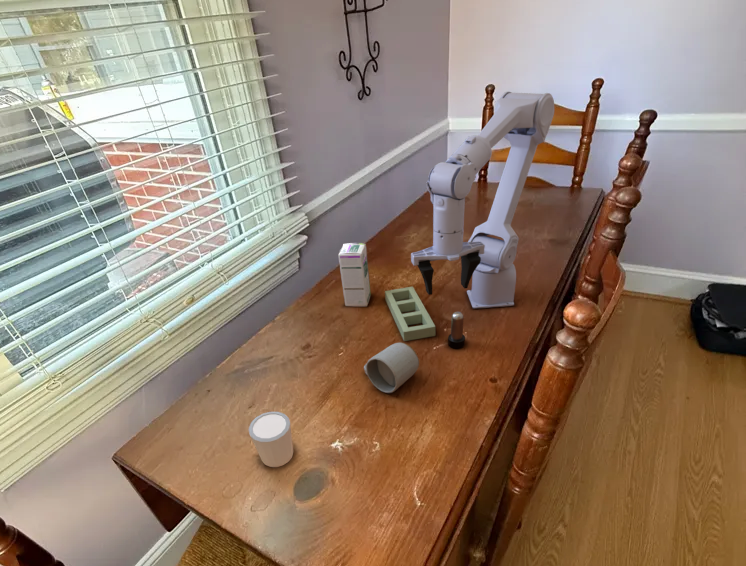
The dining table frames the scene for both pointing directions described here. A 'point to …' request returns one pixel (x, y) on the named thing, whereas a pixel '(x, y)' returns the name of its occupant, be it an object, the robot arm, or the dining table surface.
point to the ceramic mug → (392, 367)
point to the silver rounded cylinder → (456, 331)
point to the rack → (409, 314)
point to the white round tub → (272, 438)
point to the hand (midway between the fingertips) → (446, 289)
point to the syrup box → (355, 274)
